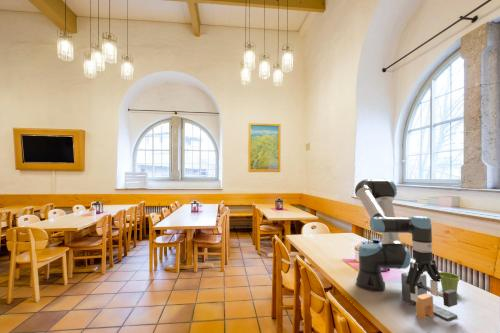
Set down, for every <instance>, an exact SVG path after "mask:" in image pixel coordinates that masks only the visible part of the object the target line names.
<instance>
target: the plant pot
mask: <svg viewBox="0 0 500 333" xmlns="http://www.w3.org/2000/svg"><path fill="white" fill-rule="evenodd" d="M439 274H440V276H441V279H440V283H441V290H442V291H447V290H450V289H453V290H455V291H457V292H458V285H459V281H460V279H461V277H460V276H459V275H458V274H454V273H451V272H446V271H439Z"/></svg>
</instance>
